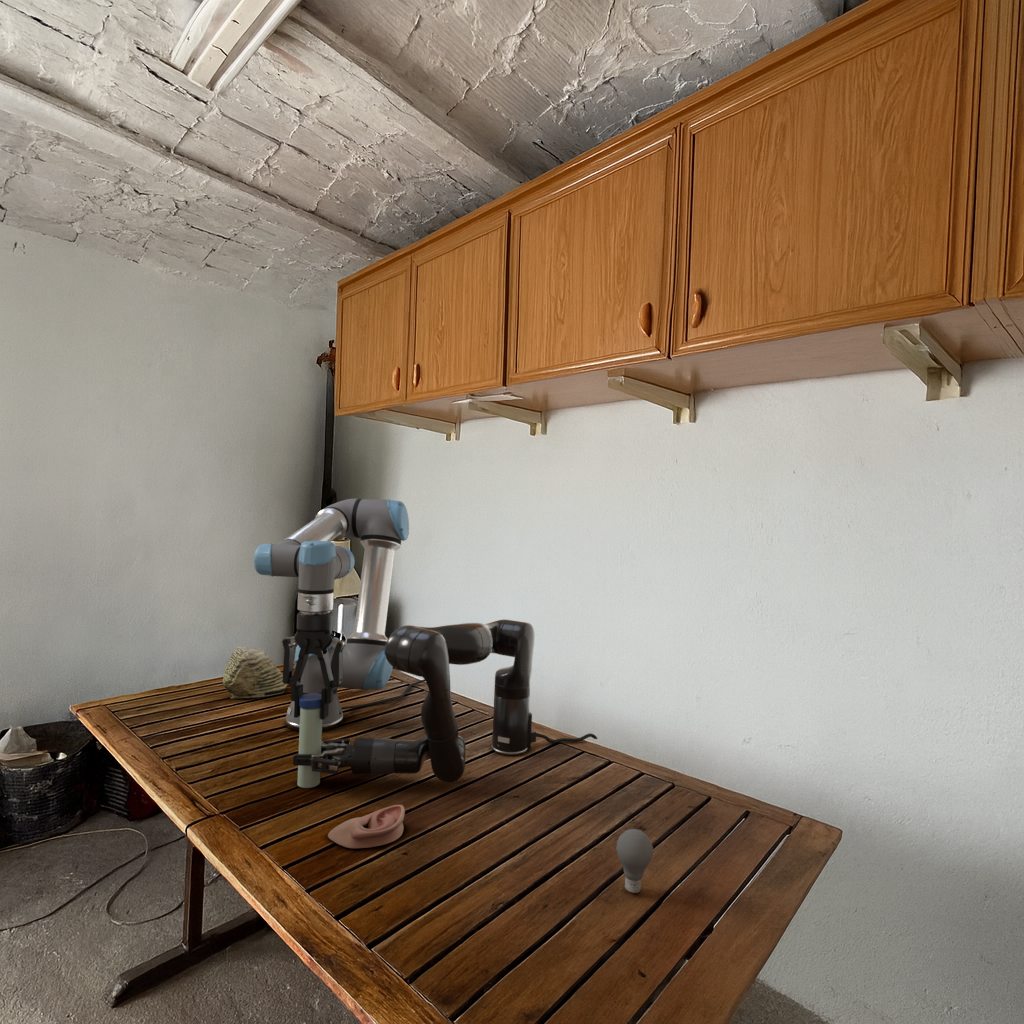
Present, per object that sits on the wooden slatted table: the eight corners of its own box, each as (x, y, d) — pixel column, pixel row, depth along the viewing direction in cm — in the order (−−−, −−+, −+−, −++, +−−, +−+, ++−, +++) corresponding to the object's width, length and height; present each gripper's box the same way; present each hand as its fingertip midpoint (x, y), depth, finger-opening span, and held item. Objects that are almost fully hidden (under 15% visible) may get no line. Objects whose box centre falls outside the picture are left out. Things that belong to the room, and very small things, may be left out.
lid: (329, 704, 140) (330, 696, 140) (308, 710, 136) (309, 702, 136) (314, 699, 143) (314, 691, 143) (293, 705, 139) (293, 696, 139)
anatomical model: (320, 822, 115) (348, 794, 127) (319, 843, 116) (348, 813, 127) (388, 833, 113) (411, 803, 124) (387, 855, 113) (410, 823, 124)
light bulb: (610, 879, 108) (613, 822, 108) (644, 879, 109) (647, 822, 109) (619, 902, 102) (622, 840, 102) (655, 901, 103) (658, 840, 103)
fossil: (218, 695, 195) (220, 647, 195) (278, 685, 208) (279, 640, 207) (228, 703, 189) (230, 653, 188) (289, 692, 201) (290, 645, 201)
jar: (306, 790, 136) (309, 704, 136) (292, 783, 139) (296, 699, 139) (324, 782, 140) (327, 699, 140) (311, 776, 143) (314, 694, 143)
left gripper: (267, 612, 136) (263, 719, 136) (350, 616, 135) (346, 725, 135) (282, 606, 143) (278, 708, 144) (361, 610, 142) (357, 713, 143)
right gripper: (380, 727, 148) (306, 726, 147) (370, 752, 133) (288, 750, 132) (379, 759, 148) (304, 758, 147) (369, 787, 134) (287, 786, 132)
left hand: (311, 716), depth 140 cm, fingers closed on lid, 5 cm apart
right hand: (297, 754), depth 139 cm, fingers closed on jar, 4 cm apart
